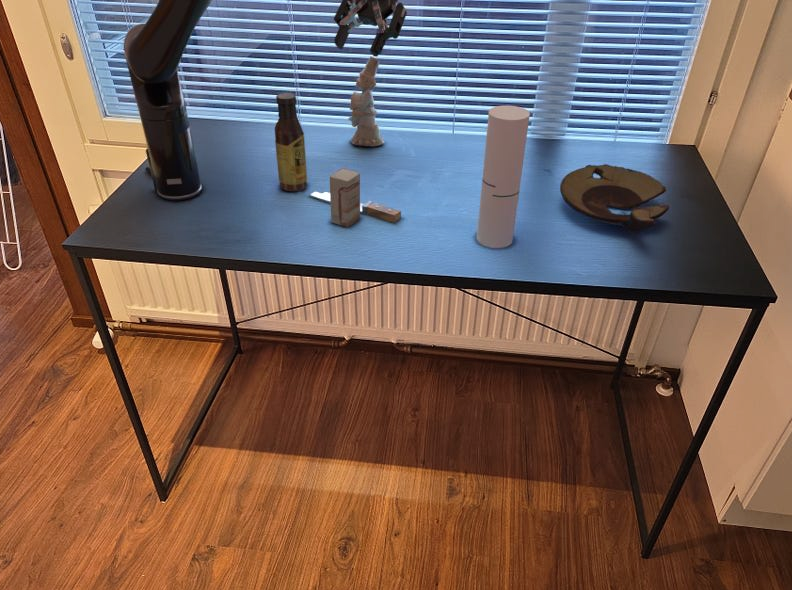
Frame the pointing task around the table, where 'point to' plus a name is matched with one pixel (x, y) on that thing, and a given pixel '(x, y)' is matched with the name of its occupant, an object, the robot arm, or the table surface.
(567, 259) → the table surface
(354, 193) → the tan rectangular box
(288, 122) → the sauce bottle
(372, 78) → the figurine
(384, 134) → the table surface
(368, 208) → the knife
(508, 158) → the cylindrical container
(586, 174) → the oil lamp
